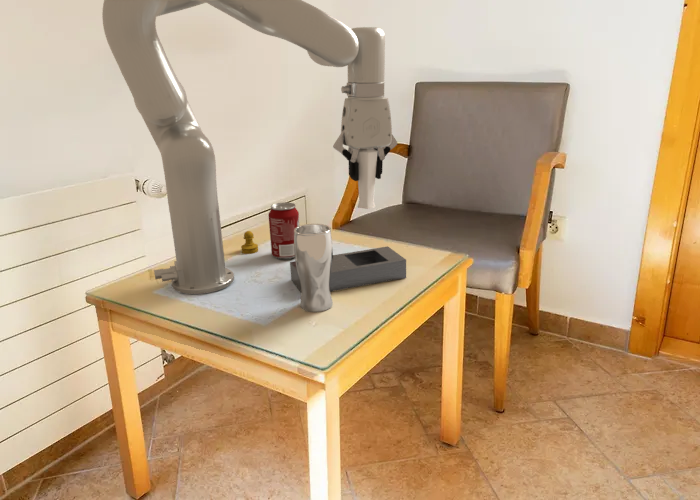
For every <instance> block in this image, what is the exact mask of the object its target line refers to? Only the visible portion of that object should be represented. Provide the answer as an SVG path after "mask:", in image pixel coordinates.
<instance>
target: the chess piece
mask: <svg viewBox="0 0 700 500" xmlns="http://www.w3.org/2000/svg"><path fill="white" fill-rule="evenodd" d="M254 238H255V236H254V233H253V232H252V231H250V230H247V231H245V232H244V234H243V239H244V240H245V242H244V244H243V245H241V246H240V247H241V253H242V254H245V255H253V254H256V253H258V252H259V245H258V244H257V243H255V242H254V240H253V239H254Z"/></svg>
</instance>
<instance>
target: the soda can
mask: <svg viewBox="0 0 700 500" xmlns="http://www.w3.org/2000/svg"><path fill="white" fill-rule="evenodd" d="M299 214H300V213H299V211H298V209H297V208H296V203H294V202H293V203H292V202H286V201H284V202H276V203H273V204H271V205H270V210H269V212H268V215H267V216H268V224H269V237H270V238H269V239H270V253H271V256H272V257H273V258H276V259H277V260H281V261H283V260H284V261H286V260H292V259H295V254H294V229H295V228H296V227H298V226H300V215H299Z"/></svg>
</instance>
